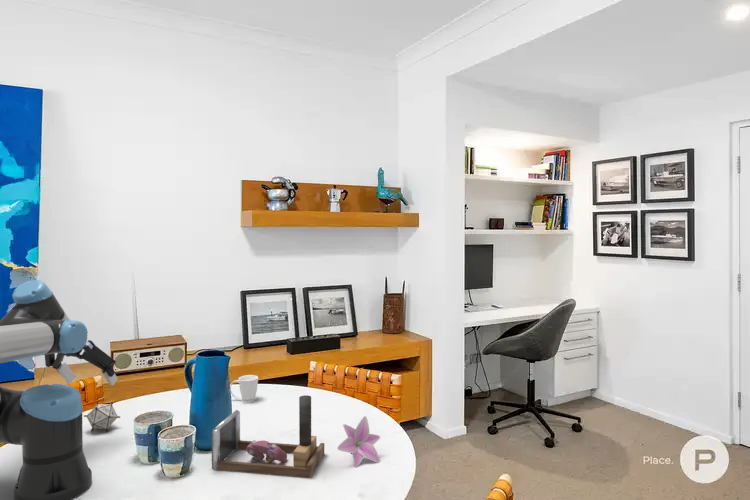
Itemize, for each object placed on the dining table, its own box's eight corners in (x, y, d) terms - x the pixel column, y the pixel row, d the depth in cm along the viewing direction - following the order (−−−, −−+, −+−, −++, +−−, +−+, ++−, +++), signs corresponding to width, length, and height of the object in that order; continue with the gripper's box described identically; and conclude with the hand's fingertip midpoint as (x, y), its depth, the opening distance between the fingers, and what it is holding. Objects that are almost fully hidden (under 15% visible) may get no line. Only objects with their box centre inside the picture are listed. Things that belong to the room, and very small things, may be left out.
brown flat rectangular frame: (310, 477, 123) (310, 465, 123) (216, 469, 127) (216, 457, 127) (324, 454, 136) (324, 443, 136) (238, 447, 140) (238, 436, 140)
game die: (109, 439, 153) (131, 410, 156) (92, 441, 145) (115, 410, 148) (89, 422, 156) (111, 393, 158) (71, 422, 148) (94, 392, 150)
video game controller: (248, 465, 133) (241, 446, 130) (257, 450, 137) (250, 432, 134) (281, 471, 130) (274, 452, 126) (289, 457, 133) (283, 438, 130)
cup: (256, 404, 174) (255, 380, 173) (226, 404, 174) (226, 380, 174) (261, 397, 181) (260, 374, 180) (233, 397, 181) (232, 374, 181)
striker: (305, 472, 125) (305, 404, 124) (293, 471, 126) (293, 403, 125) (316, 454, 135) (316, 391, 134) (305, 453, 135) (305, 390, 135)
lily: (329, 471, 129) (341, 444, 125) (332, 435, 140) (343, 410, 136) (374, 482, 131) (387, 456, 127) (373, 446, 142) (385, 421, 138)
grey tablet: (218, 470, 127) (217, 428, 126) (210, 469, 127) (209, 428, 127) (241, 447, 140) (240, 409, 140) (234, 446, 141) (233, 408, 140)
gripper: (107, 321, 135) (138, 372, 148) (25, 319, 139) (62, 369, 152) (92, 342, 129) (125, 393, 142) (6, 340, 133) (46, 390, 146)
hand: (92, 381), depth 147 cm, fingers open, 13 cm apart
